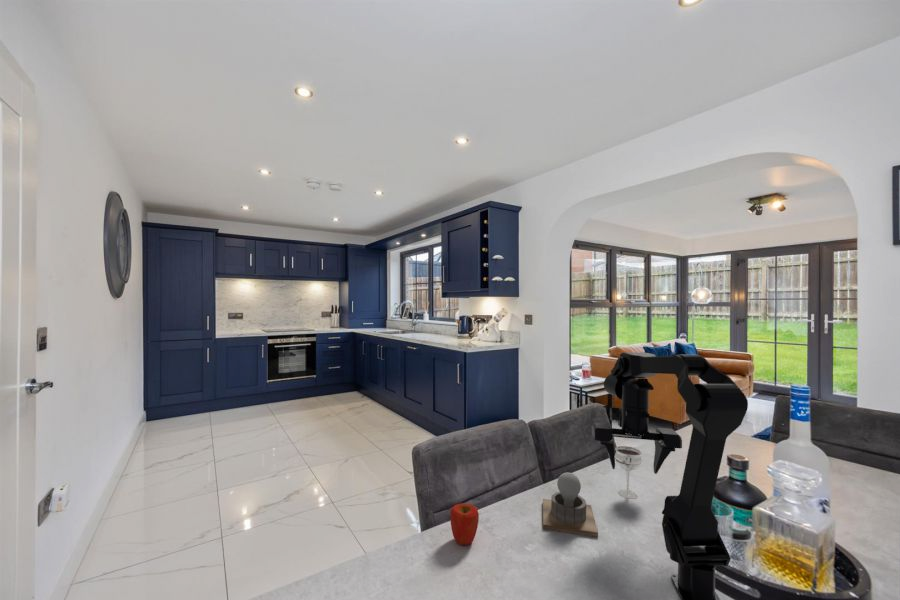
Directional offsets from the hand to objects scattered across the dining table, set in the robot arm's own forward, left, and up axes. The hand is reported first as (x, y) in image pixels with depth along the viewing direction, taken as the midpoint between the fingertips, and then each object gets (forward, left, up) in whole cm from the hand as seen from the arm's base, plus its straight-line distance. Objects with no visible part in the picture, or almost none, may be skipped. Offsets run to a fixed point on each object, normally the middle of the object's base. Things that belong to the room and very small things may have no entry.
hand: (634, 470), depth 90 cm
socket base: (-1, +15, -13) cm, 20 cm away
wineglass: (+16, -2, -13) cm, 21 cm away
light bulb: (-1, +15, -12) cm, 19 cm away
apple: (-16, +38, -13) cm, 43 cm away
